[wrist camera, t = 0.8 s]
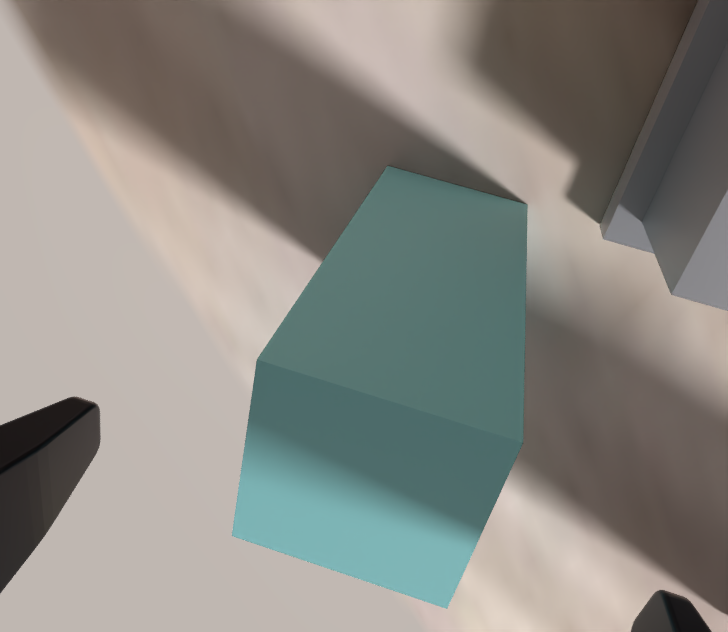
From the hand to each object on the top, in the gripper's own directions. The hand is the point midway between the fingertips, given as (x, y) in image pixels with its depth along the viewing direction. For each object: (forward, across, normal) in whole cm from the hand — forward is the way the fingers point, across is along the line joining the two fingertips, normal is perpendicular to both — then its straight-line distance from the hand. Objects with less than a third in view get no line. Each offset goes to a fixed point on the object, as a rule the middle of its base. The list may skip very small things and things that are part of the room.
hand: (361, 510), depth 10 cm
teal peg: (+10, 0, 0) cm, 10 cm away
